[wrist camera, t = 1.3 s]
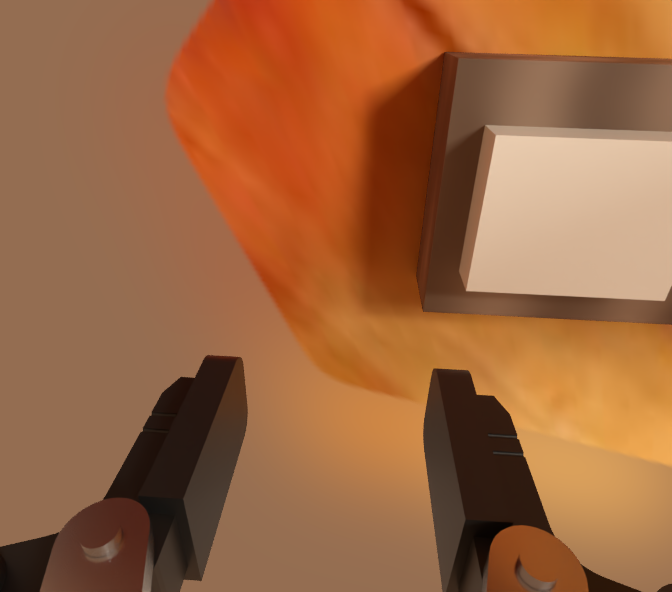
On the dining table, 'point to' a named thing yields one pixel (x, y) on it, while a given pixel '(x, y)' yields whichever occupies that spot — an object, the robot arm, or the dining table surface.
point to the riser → (529, 111)
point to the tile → (571, 213)
